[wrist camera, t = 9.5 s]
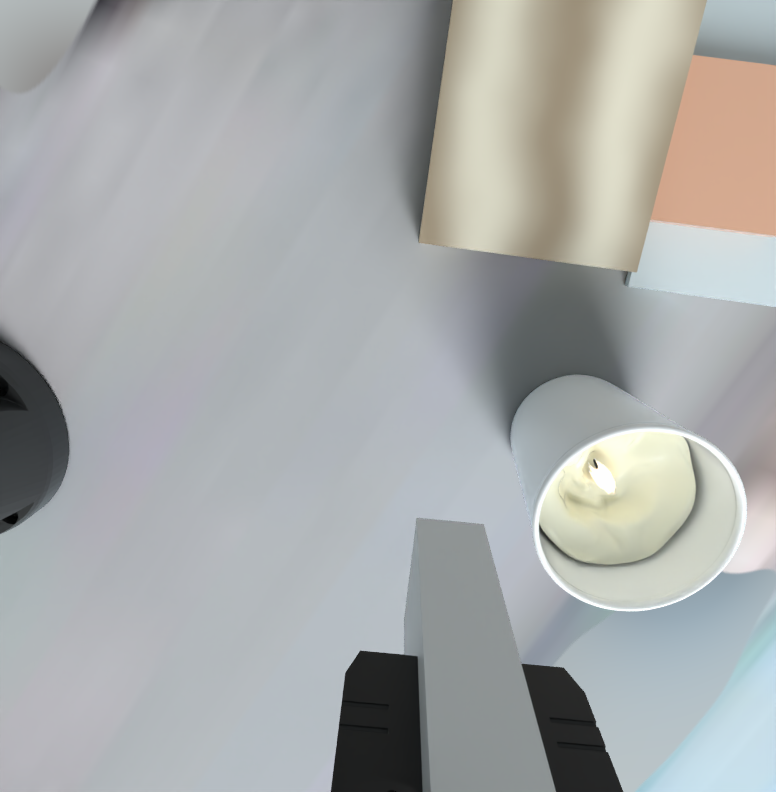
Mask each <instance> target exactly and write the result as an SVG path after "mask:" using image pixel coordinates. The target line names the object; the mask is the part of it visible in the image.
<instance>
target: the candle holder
mask: <svg viewBox="0 0 776 792" xmlns="http://www.w3.org/2000/svg"><path fill="white" fill-rule="evenodd" d="M510 441H511V449H512V454H513V459H514V463H515V467H516V471H517V475H518V479H519V482H520V486H521V490H522V494H523V498H524V502H525V505H526V509H527V513H528V517H529V521H530V525H531V528H532V537H533V542H534V546H535V550H536V552H537V555H538V557H539V559H540V562H541V563H542V565H543V567H544V568H545V570H546V571H547V573H548V574H549V575H550V577H551V578H552V579H553V580H554V581H555V582H556V583H557V584H558V585H559V586H560V587H561V588H562V589H564V590H565V591H566V592H568V593H569V594H571V595H572V596H574V597H576V598H578V599H579V600H581V601H584V602H586V603H588V604H591V605H594V606H597V607H601V608H605V609H610V610H618V611H641V610H649V609H654V608H659V607H663V606H666V605H670V604H673V603H675V602H678V601H680V600H682V599H685V598H687V597H688V596H690V595H692V594H694V593H695V592H697V591H699V590H700V589H702V588H703V587H704V586H706V585H707V584H708V583H710V582H711V581H712V580H713V579H714V578H715V577H716V576H717V575H718V574H719V573H720V572H721V571H722V570H723V569H724V568H725V567H726V565H727V564H728V563H729V561H730V560H731V558H732V557H733V555H734V554H735V552H736V550H737V548H738V546H739V544H740V541H741V539H742V536H743V533H744V529H745V525H746V518H747V501H746V494H745V490H744V486H743V483H742V480H741V478H740V476H739V474H738V472H737V470H736V468H735V467H734V465H733V464H732V462H731V461H730V460H729V459H728V457H727V456H726V455H725V454H724V453H723V452H722V451H721V450H720V449H719V448H718V447H716V446H715V445H714V444H713V443H711V442H710V441H708V440H707V439H705V438H703V437H702V436H700V435H698V434H696V433H694V432H692V431H689V430H687V429H686V428H684V427H682V426H681V425H679V424H678V423H676V422H674V421H673V420H671V419H669V418H668V417H666V416H665V415H663V414H661V413H660V412H658V411H657V410H655V409H653V408H652V407H650V406H648V405H647V404H645V403H644V402H642V401H640V400H639V399H637V398H635V397H634V396H632V395H631V394H629V393H627V392H626V391H624V390H622V389H621V388H619V387H617V386H615V385H614V384H612V383H610V382H608V381H606V380H603V379H600V378H597V377H594V376H588V375H567V376H562V377H558V378H555V379H552V380H550V381H548V382H546V383H544V384H542V385H541V386H539V387H538V388H536V389H535V390H534V391H532V392H531V393H530V394H529V395H528V396H527V397H526V398H525V400H524V401H523V402H522V403H521V405H520V406H519V408H518V410H517V412H516V414H515V416H514V419H513V422H512V426H511V434H510Z"/></svg>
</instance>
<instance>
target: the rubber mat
mask: <svg viewBox="0 0 776 792" xmlns="http://www.w3.org/2000/svg"><path fill="white" fill-rule="evenodd" d="M693 55H698V56H706V57H713V58H721V59H729V60H737V61H745V62H753V63H761V64H769V65H776V0H707V2H706V6H705V10H704V14H703V18H702V22H701V26H700V29H699V33H698V37H697V41H696V45H695V49H694V53H693ZM625 286H627V287H634V288H641V289H648V290H656V291H663V292H670V293H678V294H685V295H692V296H700V297H707V298H714V299H721V300H729V301H736V302H743V303H751V304H758V305H765V306H772V307H776V237H763V236H755V235H748V234H740V233H732V232H725V231H717V230H709V229H701V228H694V227H686V226H678V225H671V224H663V223H655V222H650V223H649V227H648V231H647V235H646V239H645V243H644V247H643V250H642V254H641V258H640V262H639V266H638V270H637V273H636V272H629V271H628V274H627V278H626V282H625Z"/></svg>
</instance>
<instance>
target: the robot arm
mask: <svg viewBox="0 0 776 792" xmlns="http://www.w3.org/2000/svg"><path fill="white" fill-rule="evenodd" d="M68 456H69V442H68V434H67V428H66V424H65V420H64V417H63V414H62V412H61V409H60V407H59V405H58V403H57V400H56V399H55V397H54V395H53V393H52V392H51V390H50V388H49V387H48V385H47V384H46V383H45V381H44V380H43V379H42V377H41V376H40V375H39V374H38V372H37V371H36V370H35V369H34V368H33V367H32V366H31V365H30V364H29V363H28V362H27V361H26V360H25V359H24V358H22V357H21V356H20V355H19V354H17V353H16V352H15V351H13V350H12V349H11V348H9V347H8V346H6V345H5V344H3V343H1V342H0V534H2V533H4V532H6V531H8V530H10V529H12V528H14V527H16V526H18V525H19V524H21V523H22V522H24V521H25V520H26V519H28V518H29V517H30V516H32V515H33V514H34V513H36V512H37V511H38V510H40V509H41V508H42V507H43V506H45V505H46V504H47V503H48V502H49V501H50V500H51V498H52V497H53V496H54V495H55V493H56V492H57V490H58V489H59V487H60V485H61V483H62V481H63V478H64V475H65V473H66V469H67V464H68ZM331 792H623V790H622V787H621V785H620V782H619V780H618V777H617V775H616V772H615V769H614V767H613V764H612V762H611V759H610V756H609V754H608V752H606V750H605V744H604V741H603V738H602V736H601V733H600V731H599V728H598V727H596V721H595V718H594V715H593V713H592V710H591V707H590V705H589V702H588V700H587V697H586V695H585V693H584V691H583V690H582V689H581V688H580V687H579V685H578V684H577V683H576V682H575V681H574V680H573V678H572V677H571V676H570V675H569V674H568V672H567V671H566V670H565V669H564V668H560V667H550V666H539V665H529V664H521V661H520V657H519V653H518V650H517V646H516V642H515V638H514V635H513V631H512V627H511V624H510V620H509V616H508V613H507V609H506V605H505V601H504V598H503V594H502V590H501V587H500V583H499V579H498V575H497V572H496V568H495V564H494V561H493V557H492V553H491V550H490V546H489V542H488V538H487V535H486V531H485V527H484V524H476V523H466V522H455V521H445V520H434V519H423V518H417V519H416V527H415V536H414V544H413V552H412V560H411V568H410V576H409V584H408V592H407V601H406V609H405V617H404V655H400V654H389V653H379V652H368V651H360V652H359V654H358V655H357V657H356V658H355V660H354V661H353V662H352V664H351V665H350V667H349V668H348V670H347V671H346V673H345V681H344V690H343V698H342V706H341V714H340V722H339V730H338V738H337V747H336V755H335V763H334V771H333V779H332V787H331Z"/></svg>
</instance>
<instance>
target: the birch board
mask: <svg viewBox="0 0 776 792" xmlns="http://www.w3.org/2000/svg"><path fill="white" fill-rule="evenodd" d="M706 2H707V0H453V1H452V9H451V16H450V23H449V30H448V37H447V44H446V51H445V58H444V65H443V72H442V79H441V86H440V93H439V101H438V108H437V115H436V122H435V129H434V136H433V143H432V150H431V157H430V164H429V171H428V178H427V185H426V193H425V200H424V207H423V214H422V221H421V228H420V235H419V243H424V244H432V245H439V246H446V247H454V248H461V249H468V250H476V251H483V252H490V253H497V254H505V255H512V256H519V257H527V258H534V259H541V260H549V261H556V262H563V263H571V264H578V265H585V266H592V267H600V268H607V269H614V270H622V271H629V272H636V273H637V270H638V266H639V262H640V258H641V254H642V250H643V247H644V243H645V239H646V235H647V231H648V227H649V223H650V219H651V216H652V212H653V208H654V204H655V200H656V196H657V192H658V188H659V185H660V181H661V177H662V173H663V169H664V165H665V161H666V157H667V153H668V150H669V146H670V142H671V138H672V134H673V130H674V126H675V122H676V119H677V115H678V111H679V107H680V103H681V99H682V95H683V91H684V88H685V84H686V80H687V76H688V72H689V68H690V64H691V60H692V57H693V53H694V49H695V45H696V41H697V37H698V33H699V29H700V26H701V22H702V18H703V14H704V10H705V6H706Z"/></svg>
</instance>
